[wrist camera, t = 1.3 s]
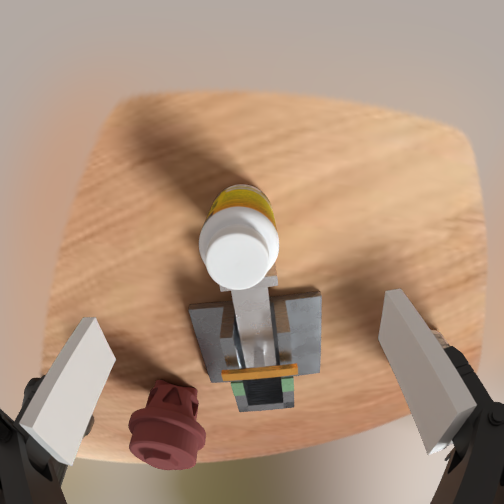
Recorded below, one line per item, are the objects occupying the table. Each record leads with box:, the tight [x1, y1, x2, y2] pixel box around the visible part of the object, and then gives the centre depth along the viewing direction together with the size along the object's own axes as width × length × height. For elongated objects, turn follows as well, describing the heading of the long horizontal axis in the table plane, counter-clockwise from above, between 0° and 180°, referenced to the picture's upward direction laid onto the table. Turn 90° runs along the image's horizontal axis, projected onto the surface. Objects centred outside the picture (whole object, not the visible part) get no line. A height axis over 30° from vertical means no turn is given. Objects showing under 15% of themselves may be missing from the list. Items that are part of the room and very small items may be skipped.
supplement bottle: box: [199, 184, 279, 290], centre depth 23 cm, size 6×6×10 cm
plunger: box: [219, 262, 298, 381], centre depth 28 cm, size 7×11×6 cm, turn 7°
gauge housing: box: [189, 291, 321, 412], centre depth 31 cm, size 14×12×6 cm
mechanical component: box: [128, 380, 206, 470], centre depth 33 cm, size 12×10×10 cm
